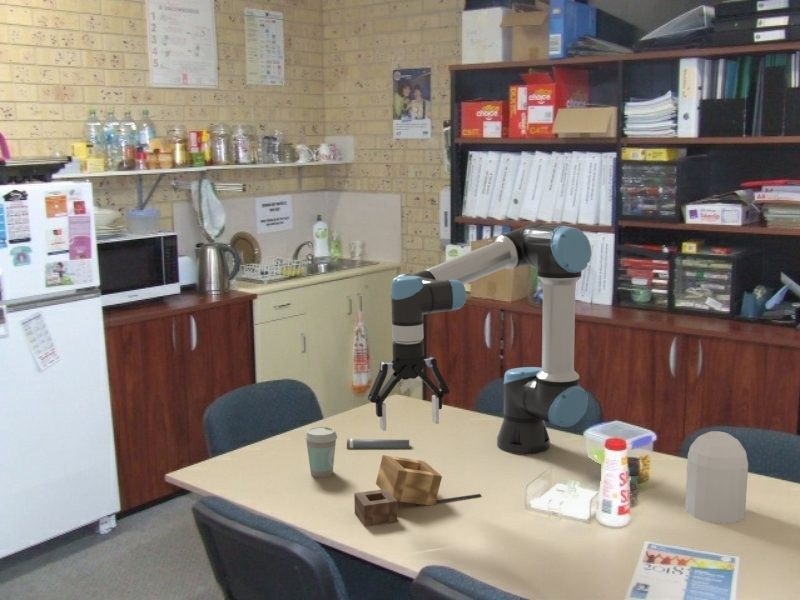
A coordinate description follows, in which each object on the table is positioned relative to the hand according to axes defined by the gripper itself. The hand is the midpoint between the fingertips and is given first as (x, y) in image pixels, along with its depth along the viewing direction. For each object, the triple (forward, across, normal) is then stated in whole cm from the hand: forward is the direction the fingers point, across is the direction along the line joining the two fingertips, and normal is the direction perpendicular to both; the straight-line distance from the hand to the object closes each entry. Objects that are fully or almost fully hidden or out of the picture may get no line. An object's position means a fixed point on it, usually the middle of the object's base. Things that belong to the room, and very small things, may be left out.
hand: (409, 425), depth 211 cm
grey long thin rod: (+19, -8, +5) cm, 21 cm away
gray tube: (+18, -12, -35) cm, 41 cm away
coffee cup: (+19, +17, -24) cm, 35 cm away
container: (+20, -64, +33) cm, 75 cm away
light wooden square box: (+17, +2, 0) cm, 17 cm away
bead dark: (+18, +12, +8) cm, 23 cm away
